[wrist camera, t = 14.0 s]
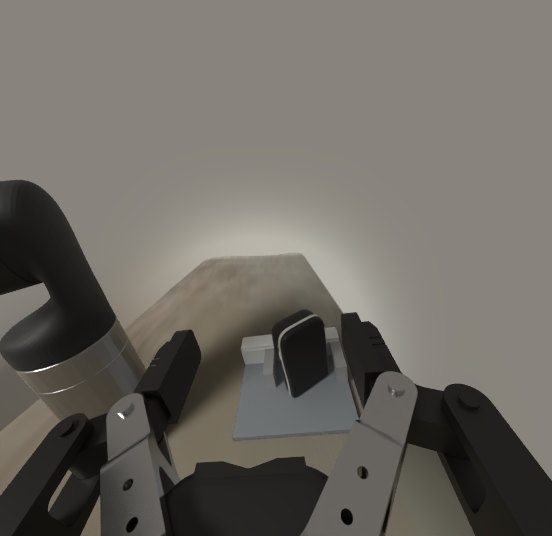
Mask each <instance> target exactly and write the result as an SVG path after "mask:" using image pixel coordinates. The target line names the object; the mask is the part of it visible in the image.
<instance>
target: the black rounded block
mask: <svg viewBox="0 0 552 536" xmlns="http://www.w3.org/2000/svg"><path fill="white" fill-rule="evenodd" d="M272 340H273V345H274V350H275V354H276V356H277V358H278V359H279V360H280V363H281V366H282V370H283V373H284V377H285V386H286V388H287V390H288V392H289V394H290V395H291V396H292V397H293V398H296V397H297V396H299V395H300V394H302V393H303V392H305V391H306V390H308V389H309V388H310V387H312V386H313V385H315V384H316V383H317V382H319V381H320V380H322V379H323V378H324V377H326V376H327V375H328V366H327V350H326V336H325V328H324V323H323V321H322V319H321V318H320V317H319V316H318V315H315V314H314V313H312V312H311V311H309V310H301V311H298V312H296V313H294V314H292V315H290V316H288V317H287V318H285V319H283V320H281V321H279V322H278V323H276V324H275V325H274V327H273V329H272Z"/></svg>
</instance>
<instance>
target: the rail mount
mask: <svg viewBox="0 0 552 536" xmlns="http://www.w3.org/2000/svg"><path fill="white" fill-rule="evenodd" d="M325 336H326V350H327V366H328V375H327V376H326V377H324V378H323V379H322V380H320V381H319V382H317V383H316V384H315V385H313V386H312V387H310V388H309V389H308V390H306V391H305V392H303V393H302V394H300V395H299V396H297V397H296V398H293V397H292V396H291V395H290V394H289V392H288V390H287V388H286V386H285V377H284V373H283V370H282V366H281V363H280V360H279V359H278V358H277V356H276V354H275V350H274V345H273V340H272V334H269V335H260V336H252V337H243V340H242V345H241V352H242V356H243V359H244V362H245V369H244V375H243V380H242V386H241V391H240V397H239V402H238V408H237V414H236V419H235V425H234V430H233V436H232V439H233V441H238V440H252V439H265V438H279V437H293V436H307V435H321V434H335V433H349V431H350V429H351V427H352V425H353V423H354V421H355V420H359V418H358V414H357V411H356V407H355V404H354V401H353V397H352V394H351V390H350V387H349V383H348V374H347V365H346V361H345V358H344V355H343V352H342V348H341V345H340V342H339V337H338V333H337V330H336V327H330V328H325Z"/></svg>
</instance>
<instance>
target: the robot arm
mask: <svg viewBox="0 0 552 536" xmlns="http://www.w3.org/2000/svg"><path fill="white" fill-rule="evenodd" d="M42 282H43V283H44V284H45V286H46V288H47V290H48V291H49V294H50V297H51V298H50V299H49V300H48V302H47V303H45V304H44V305H43V306H42V307H40V308H39V309H38V310H36V311H35V312H33V313H32V314H30V315H29V316H27V317H26V318H24V319H23V320H21V321H20V322H18V323H17V324H16V325H15V326H13V327H12V328H11V329H10V330H9V331H8V332H7V333H6V334H5V335H4V336H3V338H2V339H1V341H0V353H1V355H2V356H3V358H4V359H5V360H6V361H7V362H8V363H9V364H10V365H11V367H12V368H13V369H14V370H15V371H16V372H17V373H18V374H19V376H20V377H21V378H22V379H23V380H24V381H25V382H26V383H27V384H28V386H29V387H30V388H31V389H32V390H33V391H34V392H35V393H36V394H37V395H38V396H39V397H40V399H41V400H42V401H43V402H44V403H45V404H46V405H47V406H48V407H49V409H50V410H51V411H52V412H53V413H54V414H55V415H56V416H57V417H58V419H59V420H60V421H61V422H59V423H58V424H57V425H56V426H55V427H54V428H53V429H52V430H51V431H50V432H49V433H48V435H47V436H46V437H45V439H44V440H43V441H42V443H41V444H40V445H39V446H38V448H37V449H36V450H35V452H34V453H33V454H32V456H31V457H30V458H29V459H28V461H27V462H26V463H25V465H24V466H23V467H22V469H21V470H20V471H19V472H18V474H17V475H16V476H15V478H14V479H13V480H12V482H11V483H10V484H9V485H8V487H7V488H6V489H5V491H4V492H3V493H2V495H1V496H0V536H80V535H81V533H82V531H83V529H84V527H85V525H86V522H87V520H88V518H89V516H90V514H91V512H92V510H93V508H94V506H95V504H96V502H97V500H98V497H99V495H100V503H101V536H385V534H386V530H387V526H388V522H389V518H390V514H391V510H392V506H393V502H394V497H395V493H396V488H397V484H398V480H399V477H400V473H401V469H402V465H403V461H404V457H405V453H406V449H407V445H408V443H409V444H413V445H416V446H420V447H423V448H427V449H430V450H434V451H437V453H438V456H439V458H440V460H441V462H442V464H443V466H444V469H445V471H446V473H447V475H448V477H449V479H450V482H451V484H452V486H453V488H454V490H455V492H456V495H457V497H458V499H459V501H460V503H461V505H462V508H463V510H464V512H465V514H466V516H467V518H468V521H469V523H470V525H471V527H472V529H473V531H474V534H475V536H552V481H551V479H550V478H549V477H548V476H547V474H546V473H545V472H544V470H543V469H542V468H541V466H540V465H539V464H538V462H537V461H536V460H535V458H534V457H533V456H532V455H531V453H530V452H529V451H528V449H527V448H526V447H525V445H524V444H523V443H522V441H521V440H520V439H519V438H518V436H517V435H516V434H515V432H514V431H513V430H512V429H511V427H510V426H509V424H508V423H507V422H506V421H505V420H504V418H503V417H502V415H501V414H500V413H499V411H498V410H497V409H496V407H495V406H494V405H493V404H492V402H491V401H490V400H489V399H488V398H487V397H486V396H485V395H484V394H483V393H481V392H480V391H478V390H476V389H475V388H472V387H470V386H467V385H464V384H451V385H449V386H447V387H446V388H445V390H444V391H440V390H435V389H430V388H425V387H421V386H419V385H416V384H414V383H413V382H412V381H411V380H410V379H409V378H408V377H407V376H405V375H403V374H402V373H401V371H400V369H399V368H398V366H397V364H396V362H395V360H394V358H393V357H392V355H391V353H390V351H389V349H388V347H387V346H386V345H385V342H384V340H383V338H382V336H381V334H380V333H379V331H378V329H377V328H376V327H375V326H374V325H373V324H371V323H370V322H369V321H368V322H361V320H360V319H359V316H358V314H357V313H356V312H354V313H345V314H341V327H342V342H343V347H344V350H345V353H346V357H347V360H348V363H349V366H350V369H351V372H352V375H353V378H354V382H355V385H356V388H357V391H358V394H359V397H360V400H361V404H362V407H363V412H362V414H361V416H360V418H359V420H355V421H354V423H353V425H352V427H351V429H350V431H349V433H348V436H347V438H346V440H345V442H344V444H343V447H342V449H341V451H340V453H339V456H338V458H337V460H336V462H335V464H334V467H333V469H332V471H331V473H330V476H329V477H328V476H327V475H325V474H324V473H322V472H320V471H319V470H317V469H314V468H312V467H309V466H306V463H305V458H304V457H289V458H276V459H274V460H271V461H268V462H266V463H263V464H260V465H258V466H255V467H252V468H244V467H240V466H237V465H233V464H230V463H226V462H223V461H221V462H204V463H197V464H196V468H195V472H194V473H193V474H191V475H189V476H187V477H186V478H184V479H183V480H181V481H180V479H179V477H178V474H177V472H176V468H175V465H174V461H173V458H172V454H171V450H170V447H169V443H168V439H167V436H166V433H165V431H164V430H165V428H166V426H167V424H174V423H177V422H178V419H179V416H180V414H181V411H182V409H183V406H184V403H185V401H186V398H187V395H188V393H189V390H190V387H191V385H192V382H193V379H194V377H195V374H196V371H197V369H198V366H199V364H200V360H201V351H200V348H199V345H198V343H197V340H196V338H195V336H194V333H193V331H192V330H183V331H176V332H175V334H174V335H173V337H172V339H171V340H170V342H166V343H165V344H164V345H163V346H162V347H161V348H160V349H159V350H158V352H157V354H156V355H155V357H154V360H152V362H151V363H150V367H148V368H147V370H146V368H145V366H144V365H143V363H142V361H141V359H140V358H139V356H138V354H137V352H136V350H135V349H134V347H133V345H132V343H131V342H130V340H129V338H128V336H127V334H126V333H125V331H124V329H123V328H122V326H121V324H120V322H119V321H118V319H117V317H116V315H115V314H114V312H113V310H112V308H111V306H110V305H109V303H108V301H107V299H106V297H105V295H104V293H103V291H102V289H101V287H100V285H99V283H98V281H97V280H96V278H95V276H94V274H93V272H92V270H91V268H90V266H89V264H88V262H87V260H86V258H85V256H84V254H83V252H82V249H81V247H80V245H79V243H78V241H77V239H76V237H75V234H74V232H73V230H72V228H71V227H70V225H69V223H68V221H67V219H66V217H65V215H64V214H63V212H62V211H61V209H60V207H59V206H58V205H57V203H56V202H55V201H54V199H53V198H52V197H51V196H50V195H49V194H48V193H47V192H46V191H45V190H43V189H42V188H41V187H39V186H38V185H36V184H34V183H32V182H29V181H24V180H10V181H1V182H0V295H3V294H6V293H9V292H13V291H16V290H19V289H23V288H26V287H30V286H33V285H36V284H40V283H42ZM68 469H69V470H70V471H71V472H72V474H71V476H70V477H69V479H68V481H67V482H66V484H65V486H64V487H63V489H62V491H61V492H60V494H59V496H58V497H57V499H56V501H55V502H54V504H53V506H52V507H51V509H50V511H49V512H48V504H49V501H50V499H51V497H52V495H53V493H54V492H55V490H56V489H57V487H58V485H59V484H60V482H61V480H62V479H63V477H64V476H65V474H66V472H67V471H68Z"/></svg>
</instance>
